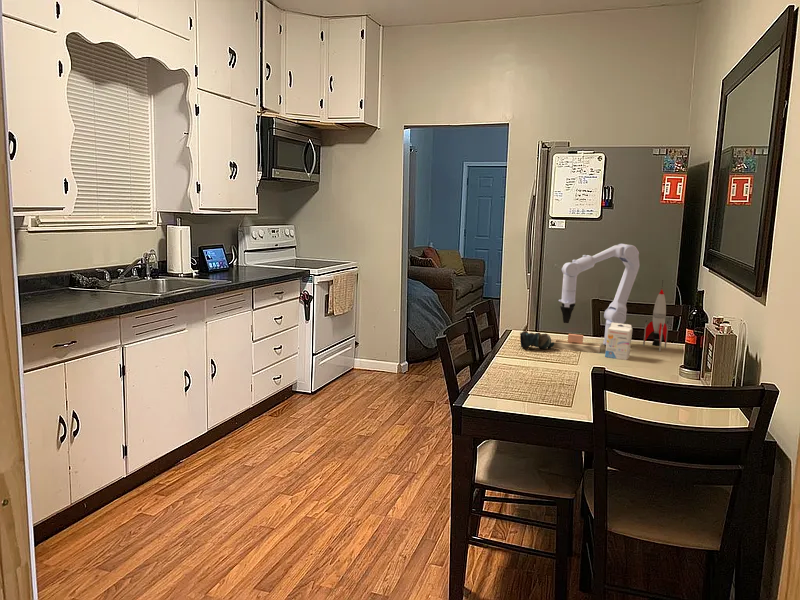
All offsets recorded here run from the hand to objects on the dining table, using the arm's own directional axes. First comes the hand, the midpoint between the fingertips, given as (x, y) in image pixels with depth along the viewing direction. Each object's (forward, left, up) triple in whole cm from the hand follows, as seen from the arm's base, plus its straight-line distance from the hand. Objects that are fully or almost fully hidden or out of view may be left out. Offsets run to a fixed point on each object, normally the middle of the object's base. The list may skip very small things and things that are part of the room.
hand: (566, 321), depth 266 cm
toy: (-38, -8, -10) cm, 40 cm away
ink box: (-22, +14, -10) cm, 28 cm away
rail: (-5, +8, -10) cm, 14 cm away
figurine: (+10, +16, -10) cm, 22 cm away
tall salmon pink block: (-5, +8, -9) cm, 13 cm away
